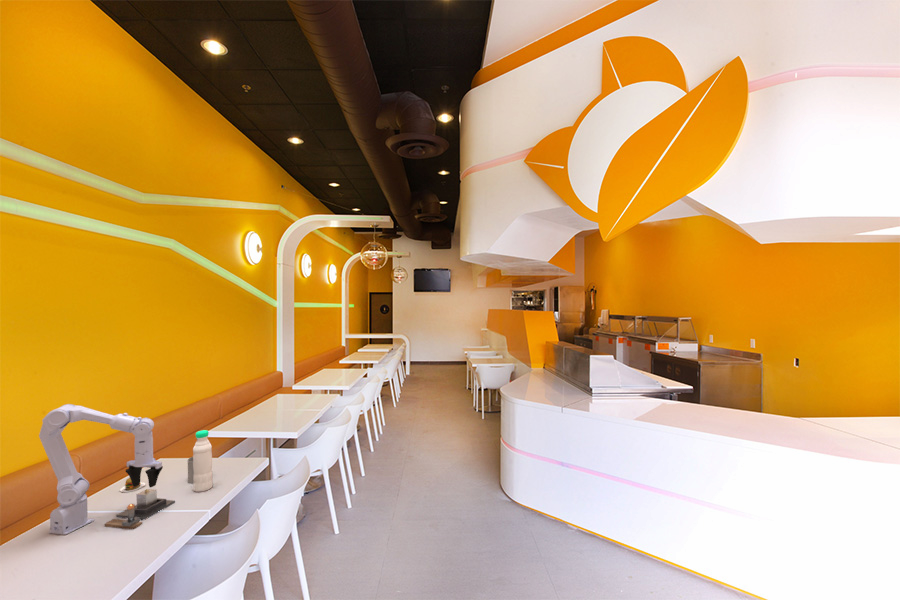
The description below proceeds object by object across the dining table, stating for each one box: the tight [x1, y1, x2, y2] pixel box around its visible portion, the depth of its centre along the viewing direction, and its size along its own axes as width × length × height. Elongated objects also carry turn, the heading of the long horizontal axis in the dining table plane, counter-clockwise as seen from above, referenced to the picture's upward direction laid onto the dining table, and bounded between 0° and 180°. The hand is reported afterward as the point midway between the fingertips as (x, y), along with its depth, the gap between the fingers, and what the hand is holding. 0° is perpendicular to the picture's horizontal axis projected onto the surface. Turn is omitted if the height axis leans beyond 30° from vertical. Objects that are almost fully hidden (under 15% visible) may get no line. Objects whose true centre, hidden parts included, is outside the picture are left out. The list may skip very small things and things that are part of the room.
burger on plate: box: [119, 477, 146, 493], centre depth 175 cm, size 12×12×6 cm
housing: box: [136, 488, 158, 509], centre depth 156 cm, size 4×4×7 cm
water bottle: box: [192, 429, 213, 493], centre depth 172 cm, size 7×7×25 cm
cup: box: [187, 456, 194, 485], centre depth 182 cm, size 8×8×10 cm
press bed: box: [115, 497, 176, 520], centre depth 155 cm, size 13×13×2 cm
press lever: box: [122, 503, 141, 526], centre depth 143 cm, size 4×4×7 cm
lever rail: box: [104, 518, 143, 530], centre depth 144 cm, size 3×13×1 cm, turn 78°
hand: (144, 485), depth 154 cm, fingers open, 7 cm apart
